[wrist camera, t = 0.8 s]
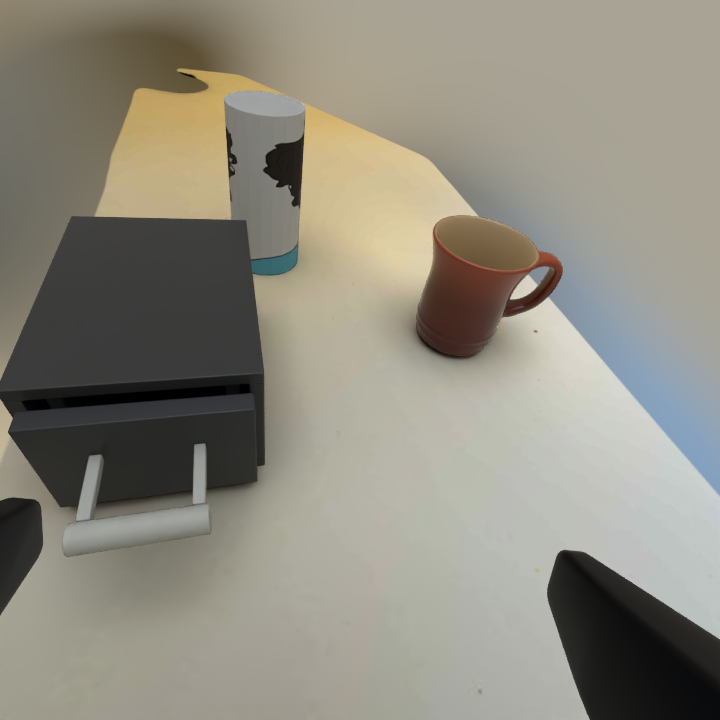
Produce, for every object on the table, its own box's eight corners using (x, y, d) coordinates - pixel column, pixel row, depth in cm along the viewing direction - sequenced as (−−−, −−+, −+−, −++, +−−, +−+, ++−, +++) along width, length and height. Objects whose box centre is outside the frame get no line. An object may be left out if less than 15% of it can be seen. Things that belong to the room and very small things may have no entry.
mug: (412, 364, 39) (444, 265, 32) (400, 303, 45) (425, 209, 38) (537, 372, 40) (595, 281, 33) (509, 313, 47) (553, 225, 39)
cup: (309, 258, 48) (321, 109, 38) (267, 283, 44) (266, 121, 34) (265, 234, 50) (264, 87, 40) (220, 255, 46) (206, 96, 36)
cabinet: (264, 465, 30) (264, 372, 23) (60, 490, 26) (-6, 391, 20) (249, 310, 41) (246, 219, 34) (104, 314, 37) (71, 215, 31)
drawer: (263, 560, 24) (263, 496, 19) (37, 601, 21) (-34, 539, 16) (244, 322, 38) (240, 248, 33) (104, 328, 35) (76, 248, 30)
